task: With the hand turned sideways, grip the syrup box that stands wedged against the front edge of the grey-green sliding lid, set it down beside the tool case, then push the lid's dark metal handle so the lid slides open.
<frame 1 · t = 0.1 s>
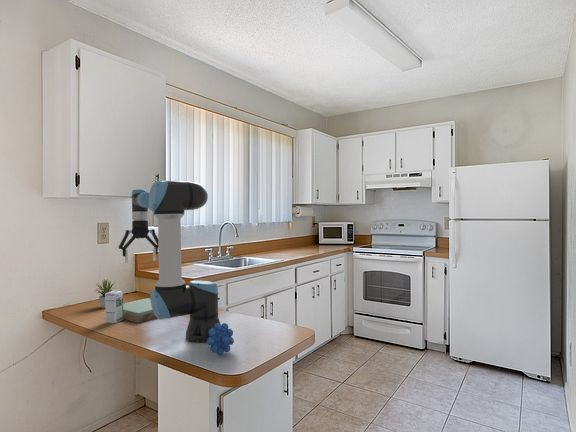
hand: (140, 261, 184), 28 cm above the countertop, tool pointing down, fingers open, 13 cm apart
syrup box: (114, 321, 177), on the countertop
house plant: (104, 307, 207), on the countertop
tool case: (143, 313, 190), on the countertop
lid: (143, 299, 190), point 7 cm above the countertop, slide at 0.0 cm
grapes: (222, 356, 131), on the countertop
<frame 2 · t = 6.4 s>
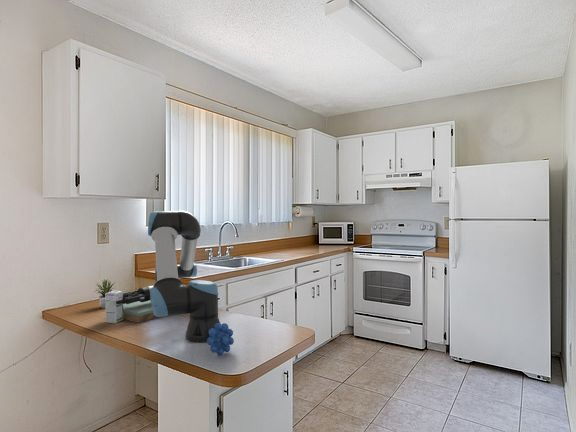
hand: (104, 302, 173), 10 cm above the countertop, tool horizontal, fingers closed on syrup box, 7 cm apart
syrup box: (114, 321, 177), on the countertop, touching gripper
everything else where it was.
when the fingers open (11 cm above the countertop, at t = 12.5 s): syrup box drops 1 cm, on the countertop.
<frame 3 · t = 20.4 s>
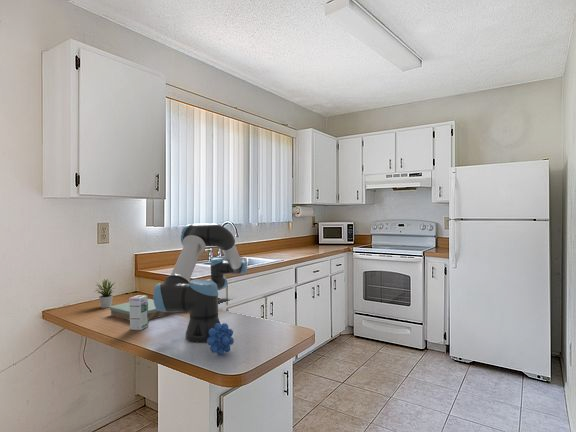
hand: (171, 294, 193), 9 cm above the countertop, tool horizontal, fingers closed
syrup box: (139, 328, 166), on the countertop
lid: (142, 300, 190), point 7 cm above the countertop, slide at 0.7 cm, touching gripper
everything else where it was.
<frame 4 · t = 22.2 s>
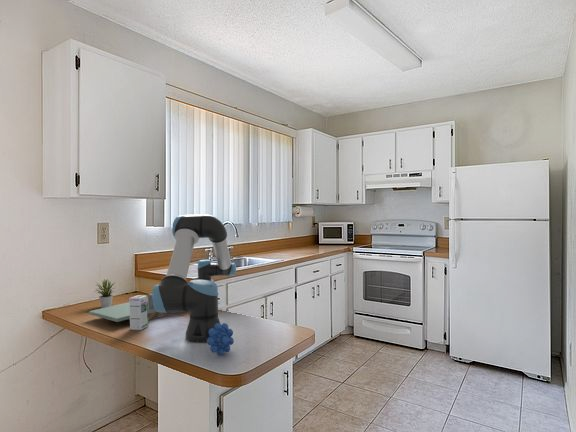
hand: (155, 297, 185), 9 cm above the countertop, tool horizontal, fingers closed
lid: (124, 304, 181), point 7 cm above the countertop, slide at 10.9 cm, touching gripper
everything else where it was.
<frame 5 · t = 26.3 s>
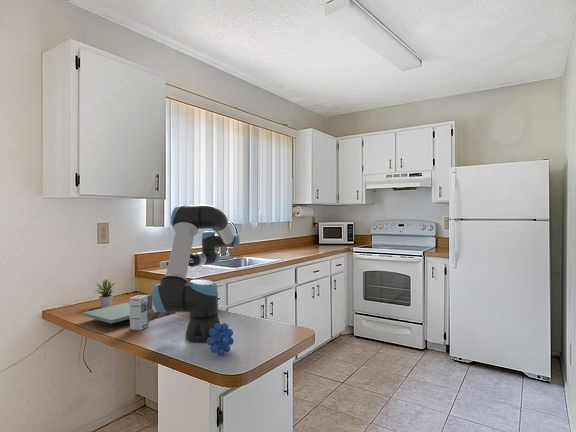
hand: (160, 264, 187), 26 cm above the countertop, tool horizontal, fingers closed
lid: (118, 305, 179), point 7 cm above the countertop, slide at 13.7 cm
everything else where it was.
at the end: lid slide at 13.7 cm; syrup box moved 20.1 cm from its start; syrup box tilted 0° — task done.
